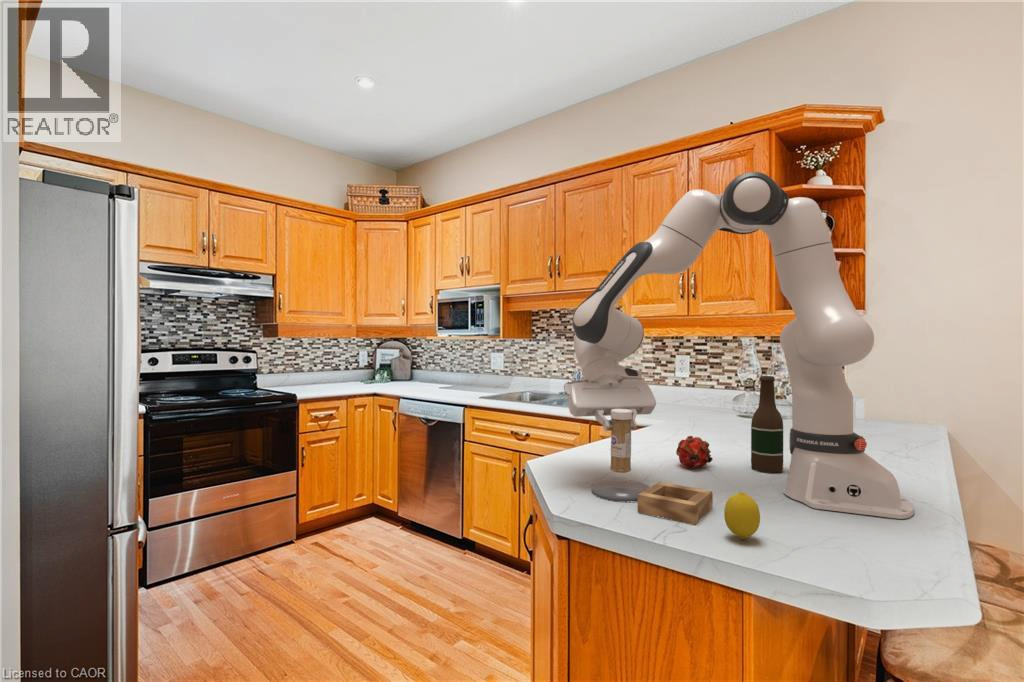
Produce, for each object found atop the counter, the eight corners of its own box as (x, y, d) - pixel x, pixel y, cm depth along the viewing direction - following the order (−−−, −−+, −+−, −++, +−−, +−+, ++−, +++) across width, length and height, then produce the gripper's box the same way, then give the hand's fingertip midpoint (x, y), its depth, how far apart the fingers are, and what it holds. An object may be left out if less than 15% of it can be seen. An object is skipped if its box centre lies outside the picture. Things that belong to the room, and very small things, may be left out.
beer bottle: (746, 465, 137) (746, 374, 137) (777, 466, 136) (777, 375, 135) (756, 473, 129) (756, 377, 129) (789, 474, 128) (789, 377, 128)
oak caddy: (712, 508, 103) (712, 491, 103) (694, 524, 94) (694, 505, 94) (658, 498, 109) (658, 481, 109) (637, 512, 101) (637, 494, 101)
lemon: (764, 547, 84) (764, 497, 84) (728, 544, 85) (727, 495, 85) (755, 534, 89) (755, 488, 89) (721, 532, 90) (721, 486, 90)
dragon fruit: (696, 466, 142) (696, 485, 131) (670, 447, 143) (668, 463, 132) (716, 444, 139) (718, 460, 128) (689, 424, 141) (689, 439, 130)
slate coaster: (661, 490, 115) (661, 486, 115) (637, 506, 104) (637, 501, 104) (608, 481, 122) (608, 476, 122) (581, 494, 112) (581, 489, 112)
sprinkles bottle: (606, 470, 113) (606, 409, 113) (618, 466, 117) (618, 407, 116) (623, 474, 110) (624, 411, 110) (635, 470, 113) (636, 409, 113)
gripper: (565, 372, 118) (580, 421, 109) (647, 371, 123) (668, 418, 113) (558, 389, 123) (572, 438, 113) (638, 387, 127) (657, 435, 118)
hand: (621, 428), depth 113 cm, fingers closed on sprinkles bottle, 4 cm apart
